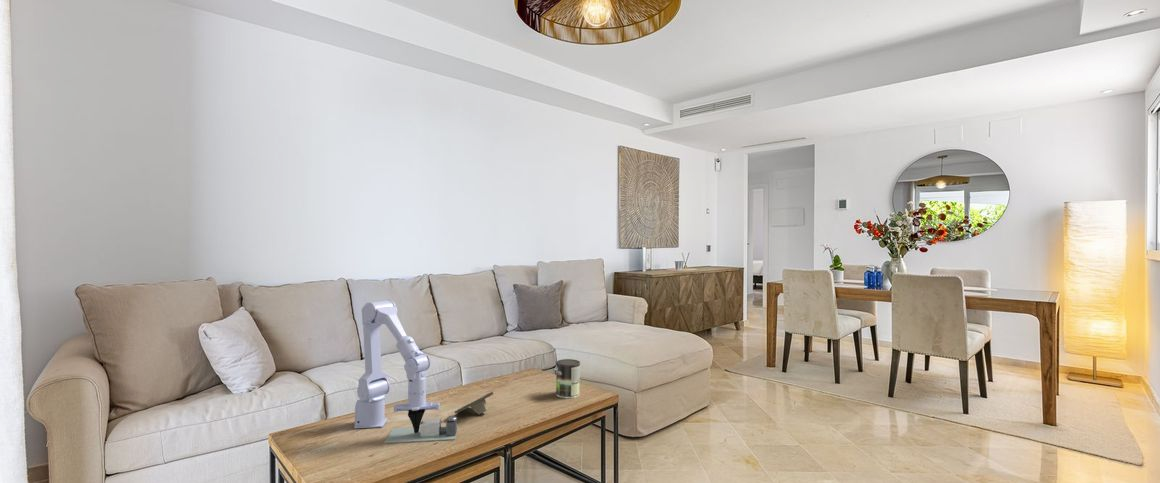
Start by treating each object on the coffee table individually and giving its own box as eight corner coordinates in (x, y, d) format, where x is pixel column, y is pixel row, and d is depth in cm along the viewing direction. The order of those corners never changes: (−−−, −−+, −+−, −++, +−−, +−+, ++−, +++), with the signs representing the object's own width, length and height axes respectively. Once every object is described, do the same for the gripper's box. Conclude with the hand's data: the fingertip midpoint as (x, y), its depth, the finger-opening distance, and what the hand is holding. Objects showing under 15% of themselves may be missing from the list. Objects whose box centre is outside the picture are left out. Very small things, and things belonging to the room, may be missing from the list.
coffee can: (559, 399, 200) (559, 365, 200) (553, 392, 210) (553, 359, 210) (582, 397, 203) (583, 364, 203) (575, 390, 213) (576, 358, 213)
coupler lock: (420, 437, 159) (420, 423, 159) (422, 431, 164) (423, 418, 164) (439, 436, 160) (439, 423, 160) (441, 430, 165) (441, 417, 165)
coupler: (425, 437, 160) (426, 421, 160) (428, 431, 165) (428, 416, 165) (455, 435, 161) (455, 420, 161) (457, 430, 166) (457, 414, 166)
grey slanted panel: (461, 434, 173) (493, 407, 174) (446, 415, 175) (478, 387, 175) (475, 424, 189) (504, 399, 190) (461, 406, 191) (490, 381, 191)
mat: (384, 443, 155) (384, 442, 155) (393, 429, 167) (393, 428, 167) (454, 440, 159) (454, 438, 159) (458, 426, 170) (458, 425, 170)
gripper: (391, 395, 156) (391, 437, 156) (437, 394, 159) (437, 435, 159) (396, 389, 163) (396, 429, 163) (440, 387, 166) (440, 427, 166)
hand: (416, 431), depth 162 cm, fingers closed
